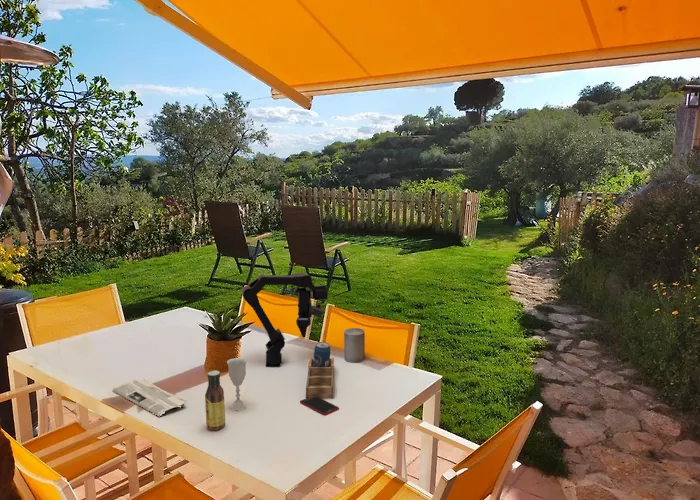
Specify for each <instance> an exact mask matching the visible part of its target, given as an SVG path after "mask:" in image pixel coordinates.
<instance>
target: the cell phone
mask: <svg viewBox="0 0 700 500" xmlns="http://www.w3.org/2000/svg"><path fill="white" fill-rule="evenodd" d="M299 403H300V405H303V406H304V407H307V408H308V409H310V410H312V411H314V412H315V413H317V414H318V415H319V414H320V415H322V416H328V415H331V414H333V413H335V412H337V411H339V410H340V407H339V406H337V405H335V404H333V403H331V402H329V401H327V400H326V399H321V398H306V397H305V398H304V399H301V400H300V401H299Z"/></svg>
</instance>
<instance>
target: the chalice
mask: <svg viewBox="0 0 700 500" xmlns="http://www.w3.org/2000/svg"><path fill="white" fill-rule="evenodd" d="M247 362H248V361H247V359H245V358H241V357H235V358H234V357H233V358H230V359H228V360H227V361H226V364H227V365H228V366H227V367H228V376H229V380H230V381H231V383H232V385H233V386H234V387H236V389H235V393H236V394H235V398H236V400H235V401H234V402H233V403H232V406H231V408H232V409H233V410H232V409H231V410H232V411H234V410H238V411H237V412H239V410H241V411H243V410H244V408H245V409H246V405H245V403H244V402H243V400H241V399H240V397H241V394H240V392H241V390H240V386H242V384H243V383H244V380H245V377H246V374H247V370H246V369H247V368H246V367H247V366H246V364H247Z"/></svg>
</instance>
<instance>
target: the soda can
mask: <svg viewBox="0 0 700 500" xmlns="http://www.w3.org/2000/svg"><path fill="white" fill-rule="evenodd" d="M313 359H314V362H313V367H329V362H330V359H331V346H330V344H329V342H325V341H318V342H317V343H316V344H315V346H314V352H313Z"/></svg>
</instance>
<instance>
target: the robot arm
mask: <svg viewBox="0 0 700 500" xmlns="http://www.w3.org/2000/svg"><path fill="white" fill-rule="evenodd" d="M312 280H313V279H312V277H311V276H310V275H308V273H305V272H301V273H295V274H290V275H281V274H279V275H273V274H272V275H271V274H269V275H268V274H267V275H266V274H260V275H259V276H258V277H257V278H256V279H254V280H253V281H252V282H249V284H247V285H245V286H243V288H242V289H241V294H242V295H241V296H242V298H243V299H244V300H245V302H246V303H247V304H248V306H250V307H251V308H252V309H253V311H254V314H256V316H257V318H258V319H259V321H260V323H261V324H262V327H263V328H264V329H265V331H266V333H267V336H268V339H269V341H267V343H266V344H265V348H266V349H267V350H266V351H265V367H271V368H272V367H273V368H274V367H275V368H276V367H281V365H282V363H283V353H281V352H282V350H283V348H284V347H285V344H286V341H285V340H286V338H285V337H284V335H283V334H282V331H281V329H280V328H275V327H274V326H273V324H272V322H271V320H270V319H269V317H268V315H267V314H266V312H265V310H264V308H263V307H262V305H261V303H260V300H259V298H258V297H259V296H258V294H259V293H260V292H261V290H263V288H264V287H265V286H266V285H269V286H270V285H271V286H272V285H273V286H274V285H275V286H278V285H279V286H294V287H295V288H294V289H293V291H294V293H297V300H298V301H297V309H298V310H297V317H296V322H295V323H296V326H297V328H298V330H299V331H300V335H301V337H302V338H306V334H307V329H308V327H309V326H311V324H312V319H311V318H312V316H315V317H318V318H319V319H321V318H322V315H323V312H324V308H322V305H321V304H319V303H317V304H316V305H313V304H312V299H313V301H325V300H328V298H329V297H328V296H329V295H328V290H327V285H326V284H321V285H319V284H318V285H315V284H313V282H312Z"/></svg>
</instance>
